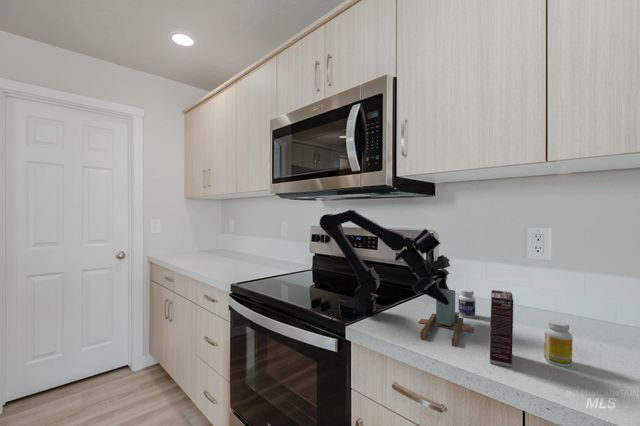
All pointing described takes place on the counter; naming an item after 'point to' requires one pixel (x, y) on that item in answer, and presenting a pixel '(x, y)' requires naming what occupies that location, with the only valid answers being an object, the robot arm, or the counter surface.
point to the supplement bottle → (558, 343)
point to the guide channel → (456, 325)
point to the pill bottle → (467, 303)
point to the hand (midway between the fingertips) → (450, 302)
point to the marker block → (446, 308)
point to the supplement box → (501, 328)
